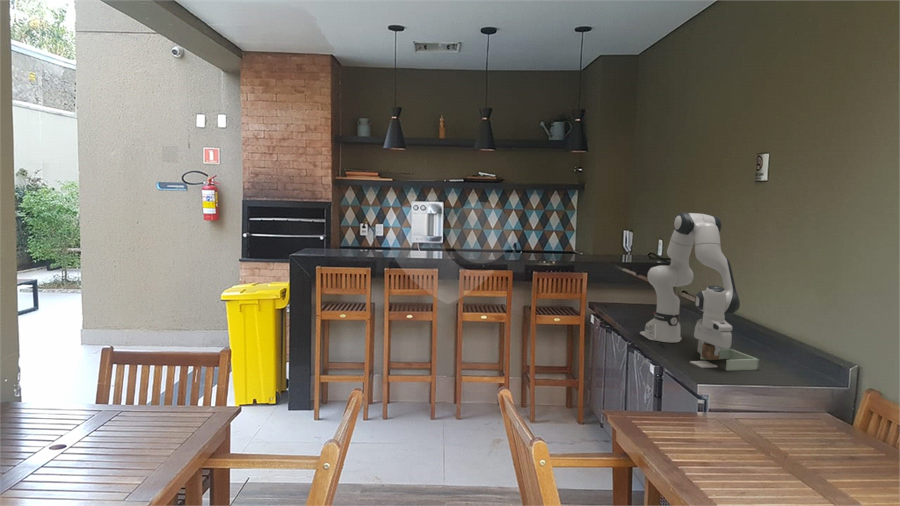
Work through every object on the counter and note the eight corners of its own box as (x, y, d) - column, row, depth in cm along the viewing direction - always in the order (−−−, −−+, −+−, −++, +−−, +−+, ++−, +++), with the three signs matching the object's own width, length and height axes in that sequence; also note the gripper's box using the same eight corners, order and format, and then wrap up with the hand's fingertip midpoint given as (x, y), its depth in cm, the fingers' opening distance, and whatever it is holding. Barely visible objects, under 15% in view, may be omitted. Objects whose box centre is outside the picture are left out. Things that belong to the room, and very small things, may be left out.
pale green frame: (700, 359, 270) (701, 349, 270) (729, 358, 274) (730, 348, 273) (727, 370, 253) (728, 360, 252) (758, 369, 256) (759, 359, 256)
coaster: (690, 362, 263) (690, 361, 263) (705, 362, 265) (705, 360, 265) (701, 367, 255) (701, 366, 255) (717, 367, 257) (717, 365, 257)
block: (701, 356, 262) (702, 343, 262) (711, 356, 264) (712, 343, 263) (709, 359, 257) (710, 346, 257) (718, 359, 259) (719, 346, 258)
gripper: (691, 318, 268) (689, 347, 270) (722, 328, 248) (720, 360, 250) (703, 317, 270) (701, 347, 271) (735, 327, 250) (732, 359, 251)
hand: (710, 353), depth 260 cm, fingers closed on block, 5 cm apart
